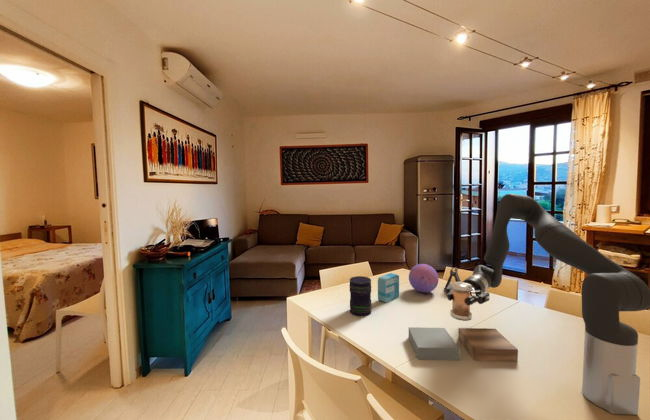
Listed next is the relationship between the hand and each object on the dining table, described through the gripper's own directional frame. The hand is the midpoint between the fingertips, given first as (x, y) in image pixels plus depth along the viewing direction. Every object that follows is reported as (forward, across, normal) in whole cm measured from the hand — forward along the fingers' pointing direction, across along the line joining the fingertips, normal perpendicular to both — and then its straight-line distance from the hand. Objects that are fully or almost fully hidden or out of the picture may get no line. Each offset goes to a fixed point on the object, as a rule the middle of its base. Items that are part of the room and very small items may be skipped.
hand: (458, 300), depth 91 cm
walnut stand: (-7, +6, +18) cm, 20 cm away
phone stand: (-57, -22, +18) cm, 64 cm away
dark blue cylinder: (-2, -43, +18) cm, 47 cm away
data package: (-23, -41, +18) cm, 51 cm away
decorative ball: (-44, -33, +18) cm, 58 cm away
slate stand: (+4, -7, +18) cm, 20 cm away
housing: (-3, 0, +6) cm, 7 cm away
